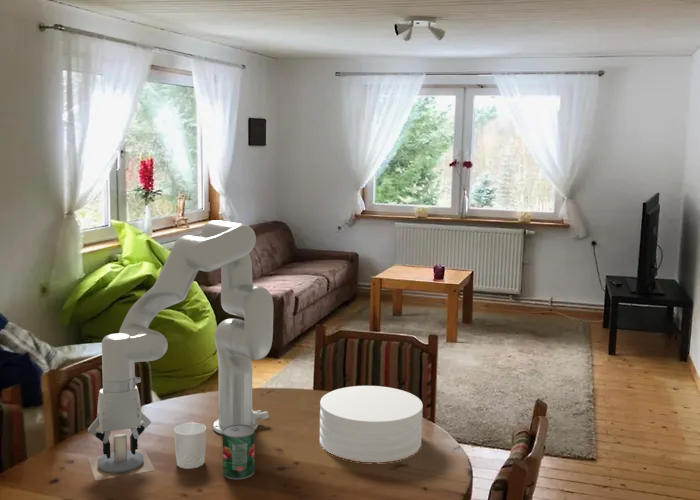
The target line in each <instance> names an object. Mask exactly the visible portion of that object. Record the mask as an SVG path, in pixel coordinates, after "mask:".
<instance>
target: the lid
mask: <svg viewBox="0 0 700 500" xmlns="http://www.w3.org/2000/svg"><path fill="white" fill-rule="evenodd" d="M127 436H128V435H127V434H125V433H118V434H114V435H113V439H112V442H113V451H110V458H109V459H107V456H106V454H102V455H103V456H101V455H100V456H101V457H100V458H99V459H98V461H97V465H98V469H99V470H100V471H102V472H105V473H111V474H119V473H126V472H130V471H133V470H136V469H138V468H140V467H141V466H142V465H143V463H144V456H143V455H142V454H141V453H140V452H137V451H135V454H132V452H131V450H130V449H128V437H127Z"/></svg>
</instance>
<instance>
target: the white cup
mask: <svg viewBox="0 0 700 500" xmlns="http://www.w3.org/2000/svg"><path fill="white" fill-rule="evenodd" d="M173 436H174V438H173V439H174V450H175V460H176V467H177V466H178V467H179V468H181V469H188V470H189V469H195V468H199V467H201V466H203V465H204V464H205V456H206V444H207V443H206V441H207V440H206V439H207V426H206V425H205V424H203V423H199V422H185V423H181V424H178V425H176V426H175V427H174V428H173Z"/></svg>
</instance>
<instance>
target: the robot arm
mask: <svg viewBox="0 0 700 500" xmlns="http://www.w3.org/2000/svg"><path fill="white" fill-rule="evenodd" d="M256 241H257V237H256V232H255V231H254V229H253V228H252V227H251V226H250V225H248V224H245V223H240V222H235V221H228V220H221V219H219V220H218V219H216V220H214V219H213V220H209V221H207V222H206V223H205V224H204V225H203V227H202V231H201V236H196V235H184V236H180V237H179V238H178V239H176V241H175V242H174V244H173V246H172V248H171V250H170V252H169V254H168V256H167V258H166V260H165V263H164V264H163V265H162V268H161V270H160V272H159V275H158V277H157V279H156V281H155V283H154V284H153V286H152V287H151V288H150V289H148V290H147V291H146V292H145V293H143V295H141V297H140V298H138V300H137V301H135V302H134V304H133V305H132V306H131V307H130V308H129V309H128V312H127V314H126V315H125V317H124V320H123V322H122V324H121V326H120V328H119V331H118V333H109V334H108V335H105V336H104V337H103V338H102V340H101V364H102V365H101V367H102V388H100V390H99V391H98V392H99V393H98V397H97V399H98V400H97V409H96V410H97V413H96V418H95V419H94V420H93V421H92V423H91V424H90V425H89V427H88V428H87V430H88V433H89V434H91V435H92V436H94V437H96V439H98V440H99V441H101V442H102V455H105V454H106V456H107V459H109V458H110V452H111V442H110V440H109V439H110V436H111V433H112V432H117V431H125V430H130V431H131V434H130V436H129V439H130V441H129V442H130V447H129V450H131V452H132V454H135V450H139V448H138V447H139V443H138V439H139V437H140V436H141V434H142V433H143V432H144V431H145V429H147V428H148V427H149V426H150V425H151V424H152V422H151V419H150V418H149V417H147V415H146V414H145V413H143V412H142V407H141V405H142V404H141V399H140V393H139V388H138V386H137V384H138V383H141V382H142V378H141V376H139V377H137V376H136V374H135V370H136V369H135V363H138V362H139V363H140V362H142V363H143V362H153V361H157V360H159V359H161V358H162V357H164V355H166V352H167V351H168V347H169V346H168V345H169V344H168V343H169V342H168V340H167V338H166V337H165V335H164V334H162V333H161V332H159V331H157V330H153V329H151V328H149V326H150V325H151V323H152V322H153V320H154V318H155V317H156V316H157V315H158V314H159V313H160V312H161V311H163V310H164V309H166V308H169V307H171V306H174V305H176V304H179V303H181V302H183V301H184V300H185V299H186V298H187V296H188V293H189V292H190V289H191V286H193V285H192V284H193V283H194V281H195V278H196V276H197V274H198V272H199V271H202V272H213V271H216V270H219V269H220V271H221V272H220V274H221V276H220V282H221V284H220V305H221V308H222V309H223V311H224V312H225V313H228V314H229V315H233V316H235V317H240V318H227V319H224V320H222V321H221V322H220V323H219V324H218V325H217V327H216V328H215V332H214V342H215V343H214V344H215V349H216V355H217V362H218V363H217V366H218V367H217V368H218V419H216V420H215V421H214V422H213V424H212V427H213V430H214V432H216V433H217V434H219V435H223V433H222V430H223V429H224V428H225V427H227V426H230V425H235V424H245V425H249V426H252V427H253V428H254V430H255V431H256V430H257V429H258V424H259V423H258V421H259V420H265V419H269V417H270V414H269V411H262V410H261V409H259V410H254V409H253V362H252V360H255V361H256V360H257V361H258V360H261V359H264V358H265V357H266V356H267V355H268V354H269V353H270V350H271V348H272V345H273V344H272V343H273V339H274V338H273V334H274V301H273V299H274V298H273V297H272V295H271V293H270V291H269V290H268V289H267V288H265V286H262V285H257V284H254V282H253V265H252V263H253V262H252V259H251V258H252V257H251V255H250V253H251V252H252V250H253V249H254V248H255V245H256ZM241 318H243V319H244V320H242V319H241ZM98 427H99V430H98V429H97V428H98Z"/></svg>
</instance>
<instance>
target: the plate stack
mask: <svg viewBox="0 0 700 500" xmlns="http://www.w3.org/2000/svg"><path fill="white" fill-rule="evenodd" d="M319 403H320V404H319V407H320V410H319V445H320V444H321V445H320V447H321V446H322V447H323V448H322V447H321V448H322V450H324V449H325V450H326V451H328V452H329V453H331V454H334V455H336V456H339V457H343V458H346V459H351V460H355V461H361V462H385V461H386V462H387V461H393V460H398V459H401V458H405V457H408V456H410V455H412V454H414V453H416V452H417V451H418V450H419V448H420V447H421V448H422V435H423V434H422V433H423V432H422V429H423V421H422V420H423V408H424V407H423V406H424V404H423V402H422V400H421V399H420V398H419V397H418V396H416V395H414V394H413V393H411V392H409V391H405V390H402V389H399V388H393V387H389V386H382V385H381V386H380V385H356V386H355V385H353V386H347V387H346V386H345V387H342V388H337V389H334V390H332V391H329V392H327V393H326V394H324V395H323V396H322V397H321V399H320V401H319ZM421 448H420V449H421ZM325 450H324V451H325ZM326 451H325V452H326ZM419 451H420V450H419ZM419 451H418V452H419ZM418 452H417V453H418ZM329 453H328V454H329ZM417 453H416V454H417ZM331 454H330V455H331Z"/></svg>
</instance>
